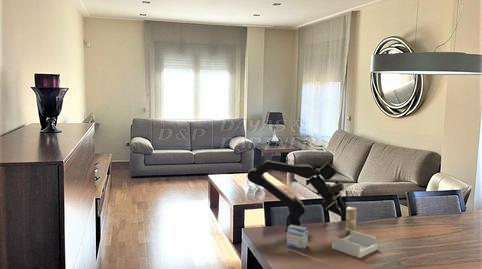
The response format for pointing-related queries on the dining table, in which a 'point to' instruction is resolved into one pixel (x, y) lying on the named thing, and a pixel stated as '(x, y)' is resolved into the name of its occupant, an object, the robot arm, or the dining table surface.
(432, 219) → the dining table surface
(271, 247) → the dining table surface
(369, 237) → the white open box
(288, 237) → the medicine box
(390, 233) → the dining table surface
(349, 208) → the birch block
